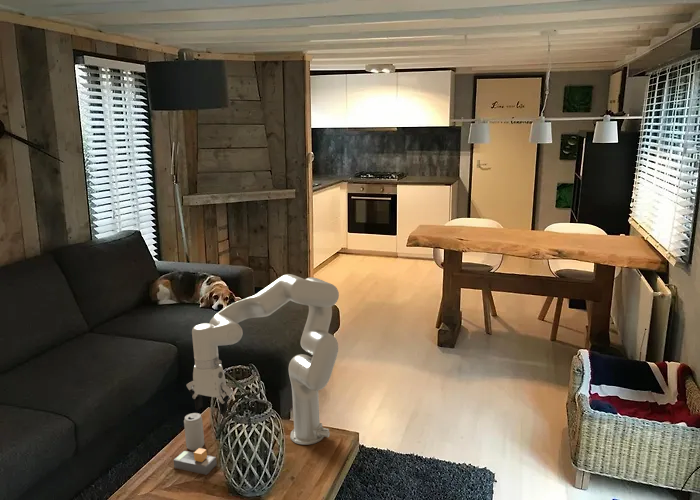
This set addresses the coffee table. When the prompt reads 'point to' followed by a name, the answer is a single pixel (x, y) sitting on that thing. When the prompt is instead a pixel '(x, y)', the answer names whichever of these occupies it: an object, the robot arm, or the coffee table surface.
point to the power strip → (194, 463)
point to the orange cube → (200, 454)
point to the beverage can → (194, 431)
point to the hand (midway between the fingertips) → (211, 410)
